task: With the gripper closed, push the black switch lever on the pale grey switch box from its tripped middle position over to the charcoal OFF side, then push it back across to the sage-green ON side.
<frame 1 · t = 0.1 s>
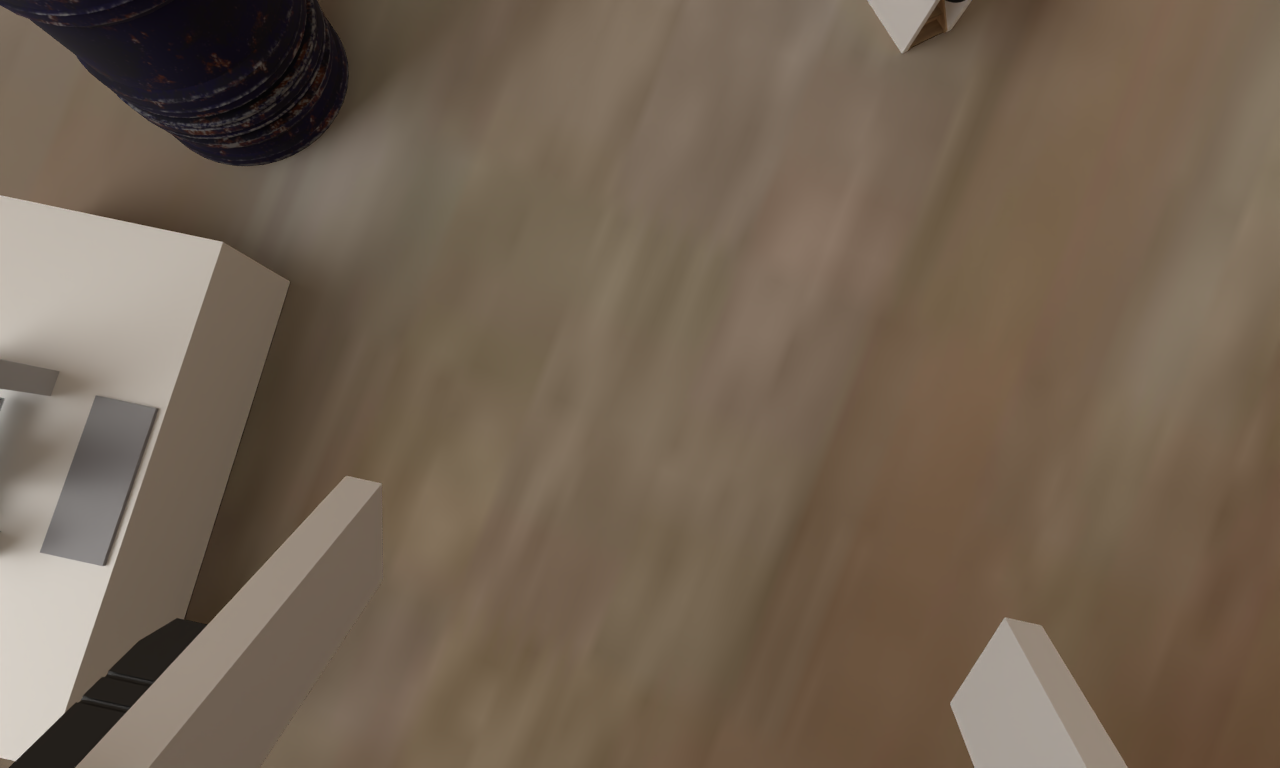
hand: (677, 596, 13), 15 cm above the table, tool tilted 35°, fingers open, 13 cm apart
switch box: (99, 459, 28), on the table
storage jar: (256, 81, 32), on the table
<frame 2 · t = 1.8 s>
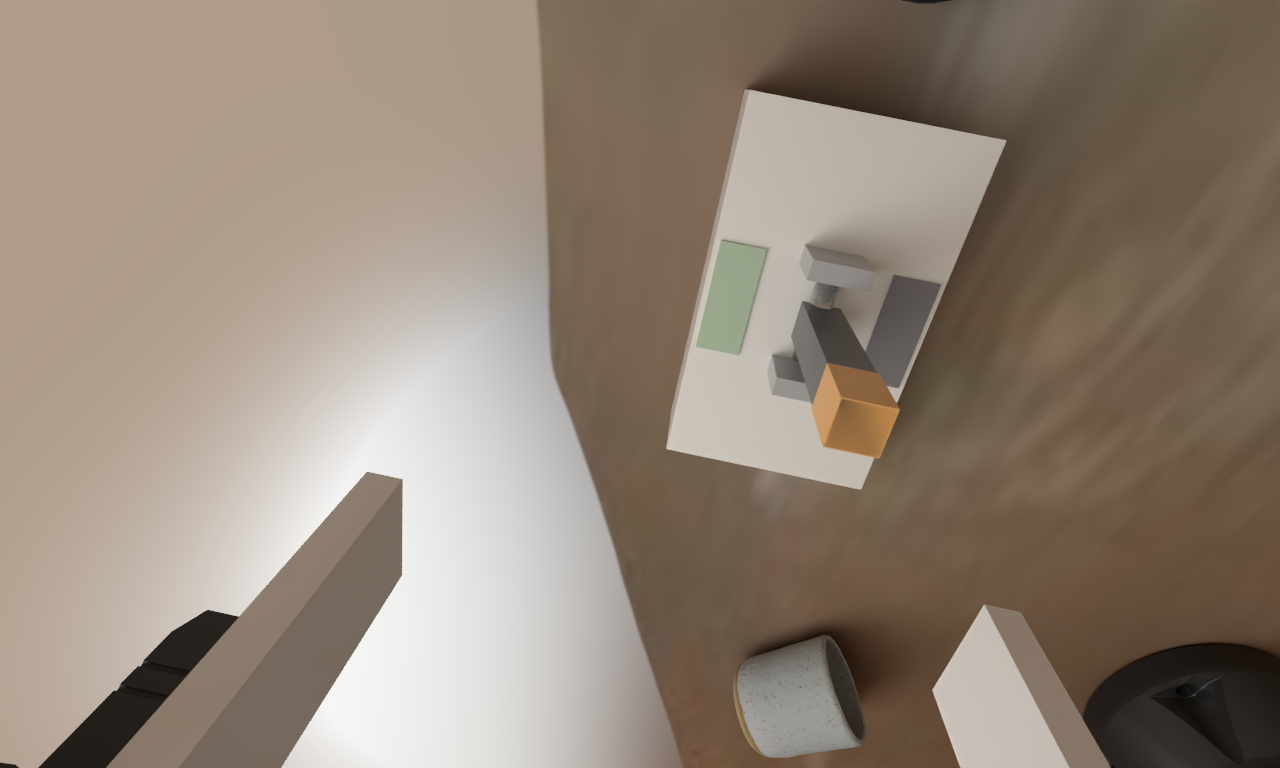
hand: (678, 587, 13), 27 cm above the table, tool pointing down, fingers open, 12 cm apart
ceramic mug: (801, 665, 51), on the table
switch box: (800, 288, 37), on the table
switch lever: (832, 363, 27), point 11 cm above the table, hinge at 0.0°
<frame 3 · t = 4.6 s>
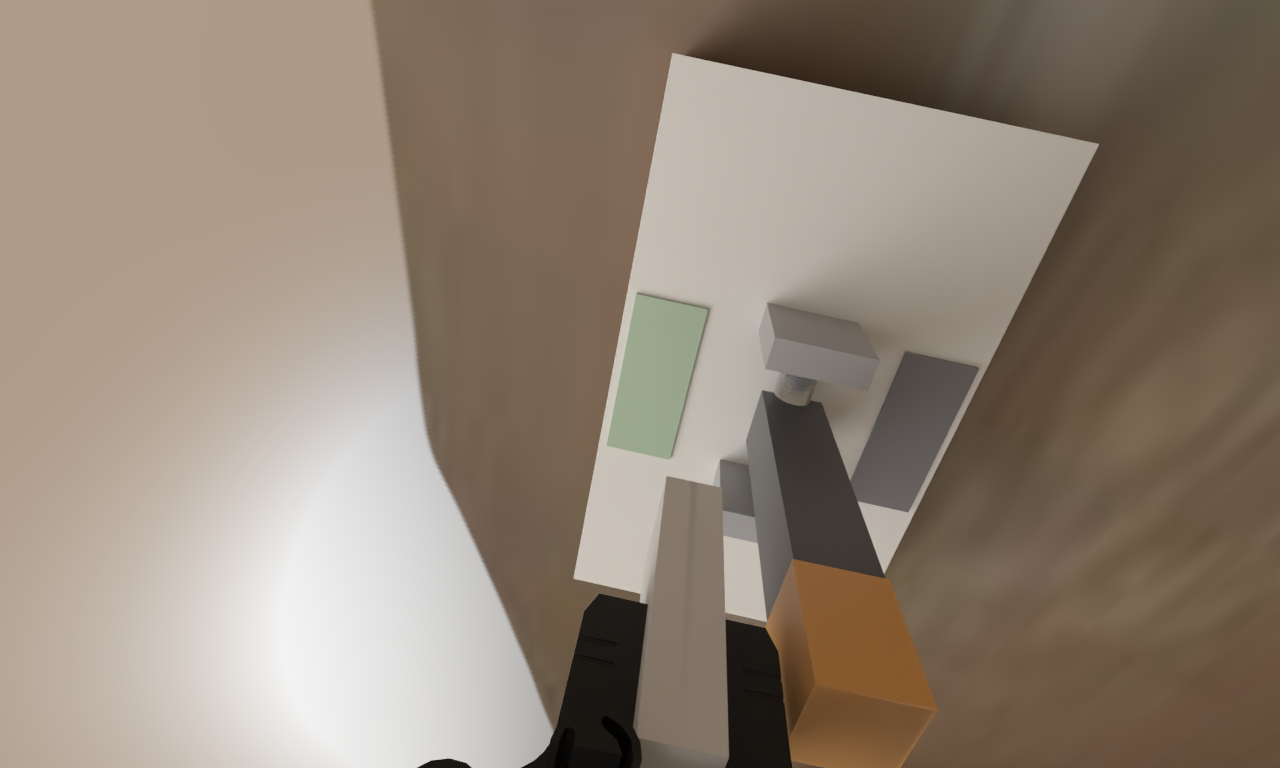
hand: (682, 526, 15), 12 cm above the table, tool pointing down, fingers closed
switch box: (768, 351, 26), on the table
switch lever: (805, 522, 16), point 11 cm above the table, hinge at 0.9°, touching gripper
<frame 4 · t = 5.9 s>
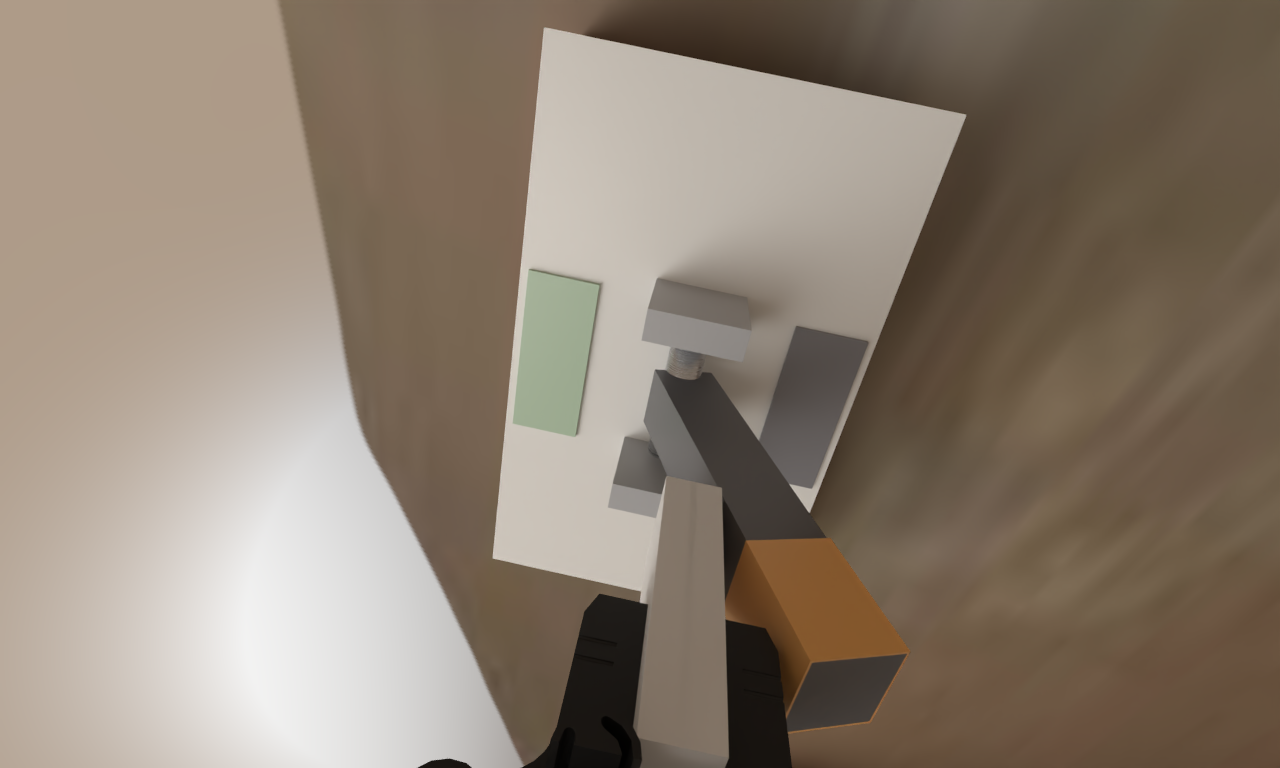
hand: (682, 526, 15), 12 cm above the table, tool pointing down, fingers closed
switch box: (685, 332, 26), on the table
switch lever: (732, 495, 16), point 11 cm above the table, hinge at 20.0°, touching gripper
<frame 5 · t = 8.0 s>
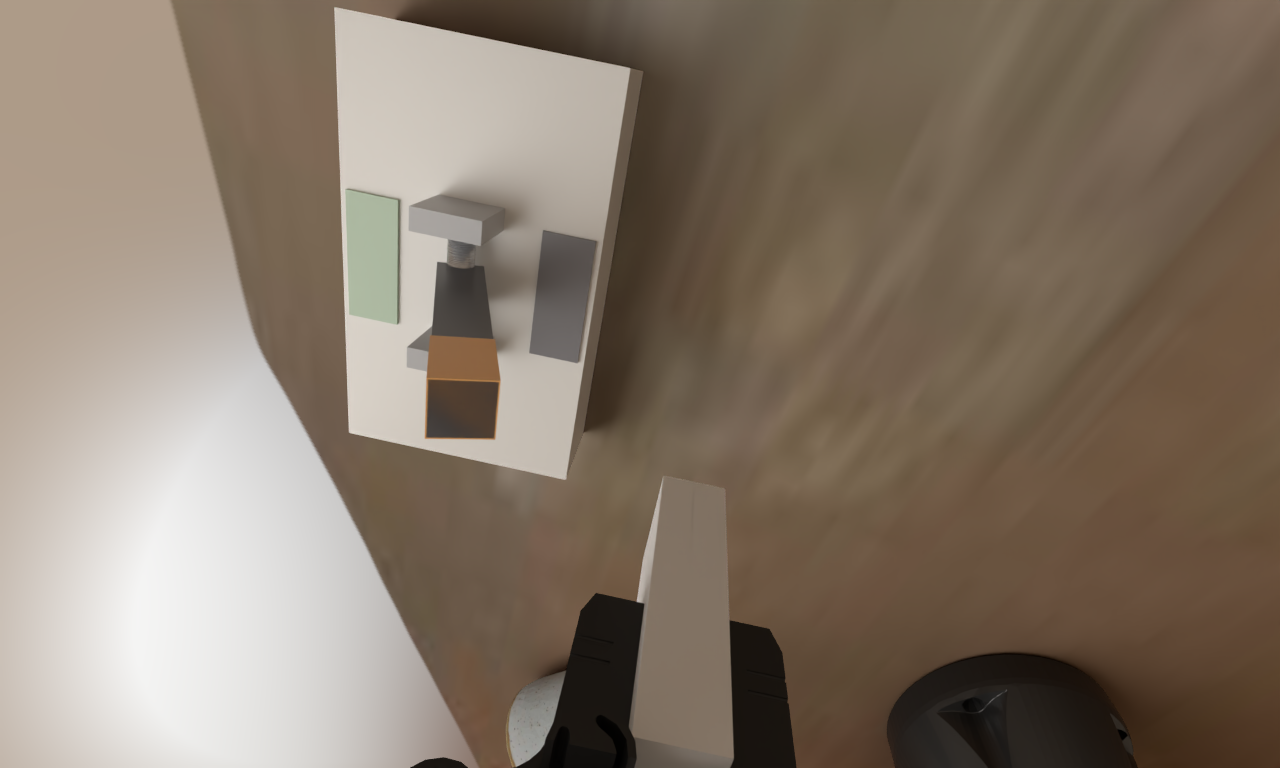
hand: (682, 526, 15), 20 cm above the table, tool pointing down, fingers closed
ceramic mug: (599, 688, 48), on the table
switch box: (500, 253, 33), on the table
switch lever: (460, 332, 23), point 11 cm above the table, hinge at 21.2°
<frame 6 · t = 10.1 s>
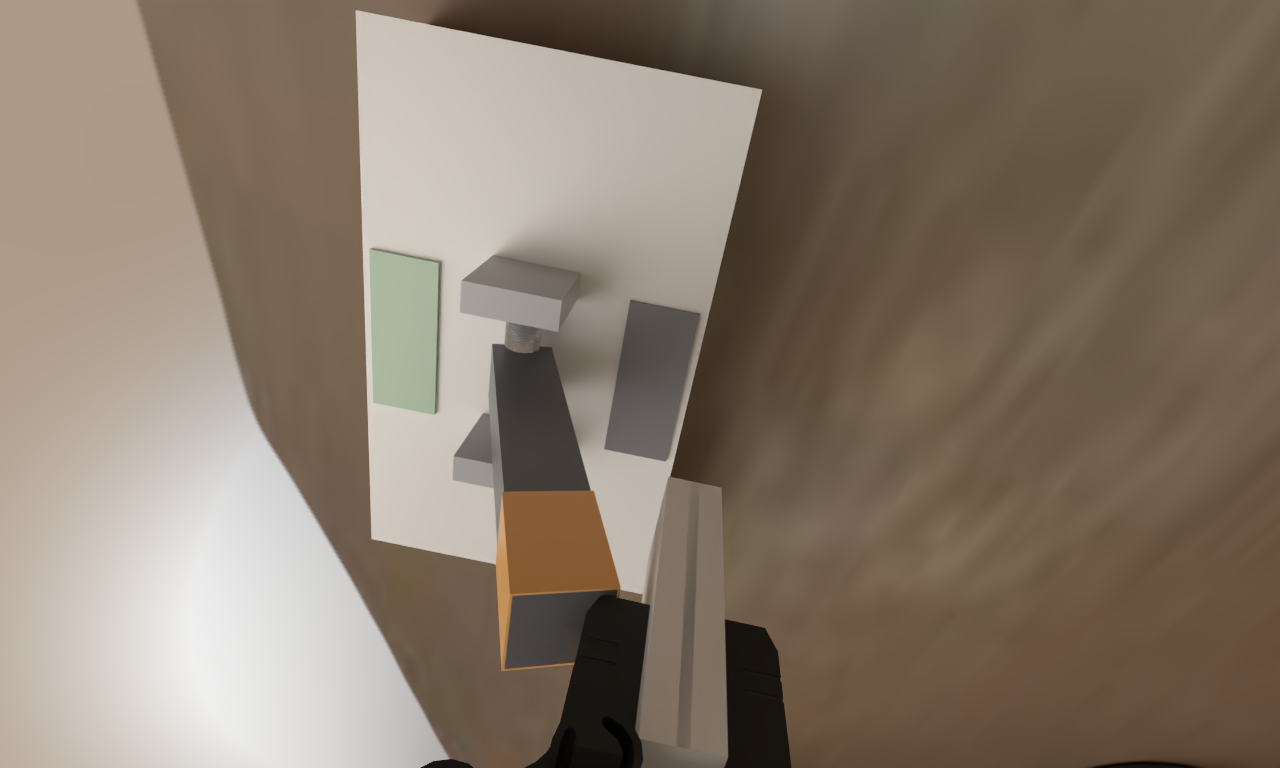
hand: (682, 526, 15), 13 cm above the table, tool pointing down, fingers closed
switch box: (557, 313, 27), on the table
switch lever: (533, 458, 17), point 11 cm above the table, hinge at 19.6°, touching gripper
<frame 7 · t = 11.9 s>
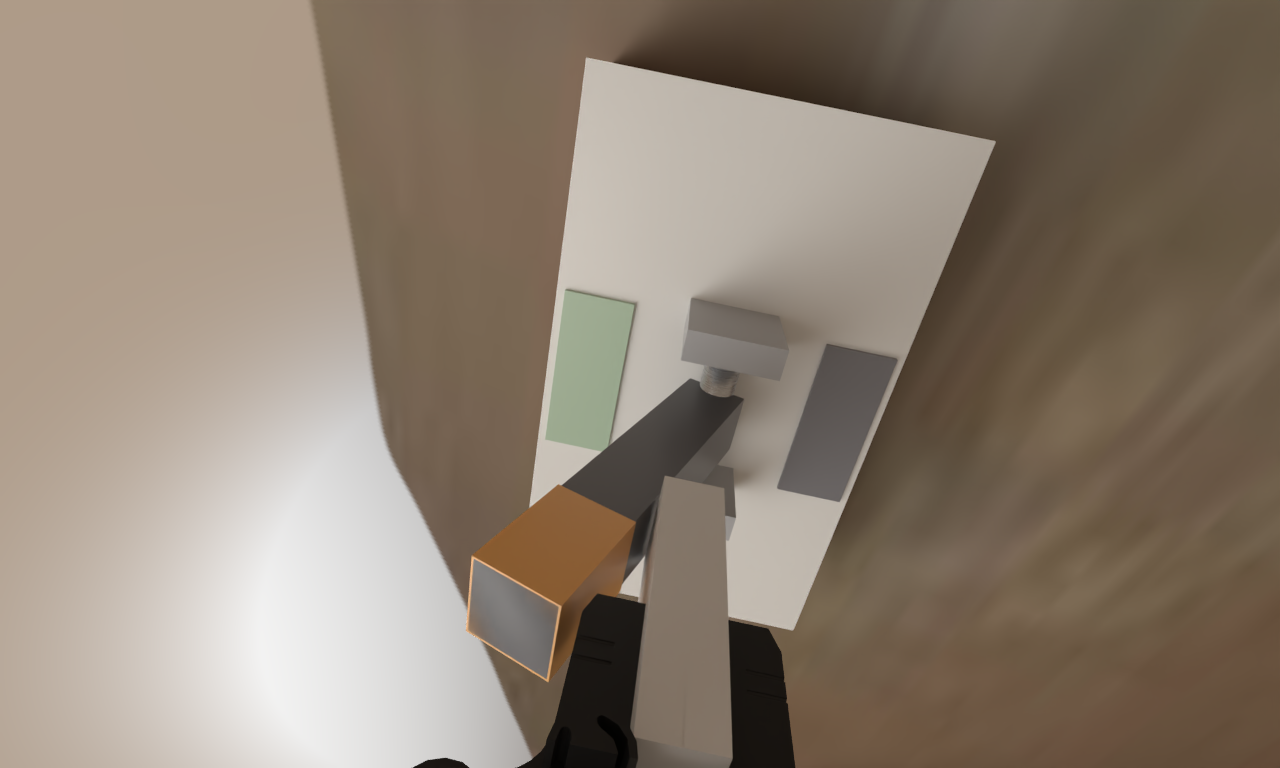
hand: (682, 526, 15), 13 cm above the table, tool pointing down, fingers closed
switch box: (710, 347, 27), on the table
switch lever: (642, 483, 17), point 11 cm above the table, hinge at -21.3°, touching gripper
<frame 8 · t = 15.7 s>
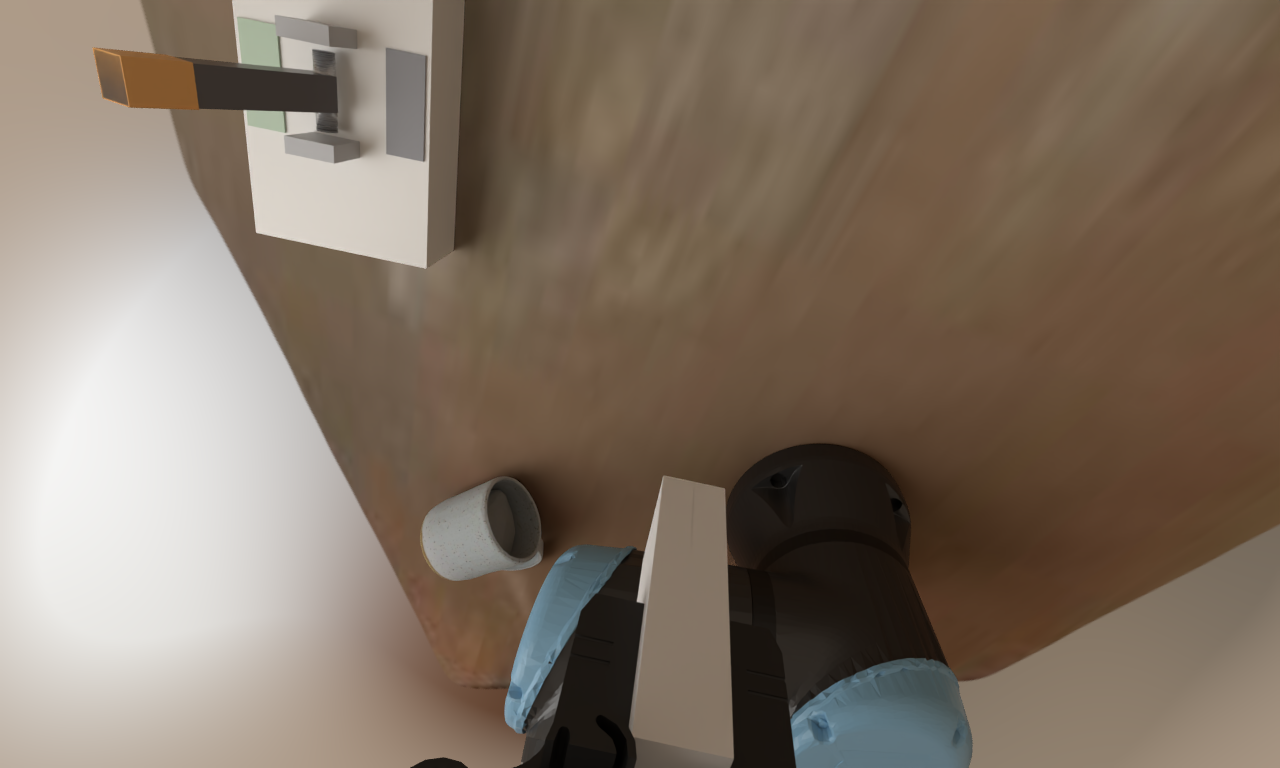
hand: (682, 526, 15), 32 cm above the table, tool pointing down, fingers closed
ceramic mug: (505, 513, 58), on the table
switch box: (374, 90, 42), on the table
switch lever: (239, 86, 32), point 11 cm above the table, hinge at -21.4°
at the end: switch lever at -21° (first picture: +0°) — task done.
